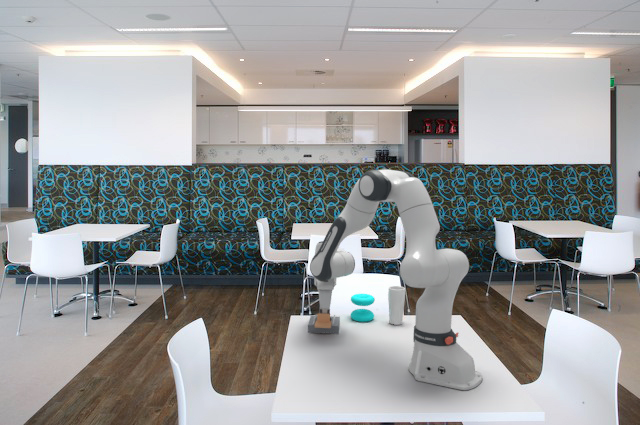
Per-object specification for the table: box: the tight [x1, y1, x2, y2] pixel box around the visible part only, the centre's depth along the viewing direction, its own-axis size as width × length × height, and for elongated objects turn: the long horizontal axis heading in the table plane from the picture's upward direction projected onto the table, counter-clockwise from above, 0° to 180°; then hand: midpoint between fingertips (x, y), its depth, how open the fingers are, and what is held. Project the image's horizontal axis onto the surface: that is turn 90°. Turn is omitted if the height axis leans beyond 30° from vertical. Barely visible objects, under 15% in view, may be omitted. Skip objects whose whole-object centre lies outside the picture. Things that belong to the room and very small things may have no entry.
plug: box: [318, 306, 331, 315], centre depth 201 cm, size 4×4×9 cm
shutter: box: [315, 312, 332, 328], centre depth 193 cm, size 6×6×4 cm
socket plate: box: [307, 313, 341, 335], centre depth 200 cm, size 12×12×4 cm
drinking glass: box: [387, 285, 406, 326], centre depth 206 cm, size 7×7×15 cm
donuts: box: [350, 293, 376, 323], centre depth 212 cm, size 10×10×10 cm
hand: (324, 313), depth 201 cm, fingers open, 7 cm apart
